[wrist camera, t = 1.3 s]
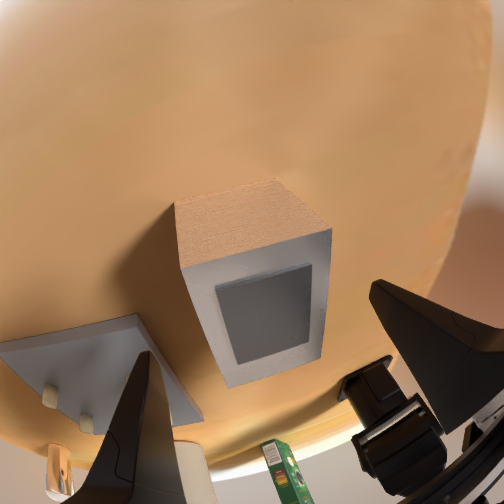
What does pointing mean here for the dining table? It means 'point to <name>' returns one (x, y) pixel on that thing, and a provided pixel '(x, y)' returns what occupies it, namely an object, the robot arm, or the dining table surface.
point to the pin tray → (93, 371)
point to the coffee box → (285, 473)
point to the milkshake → (59, 473)
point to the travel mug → (194, 473)
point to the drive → (256, 277)
